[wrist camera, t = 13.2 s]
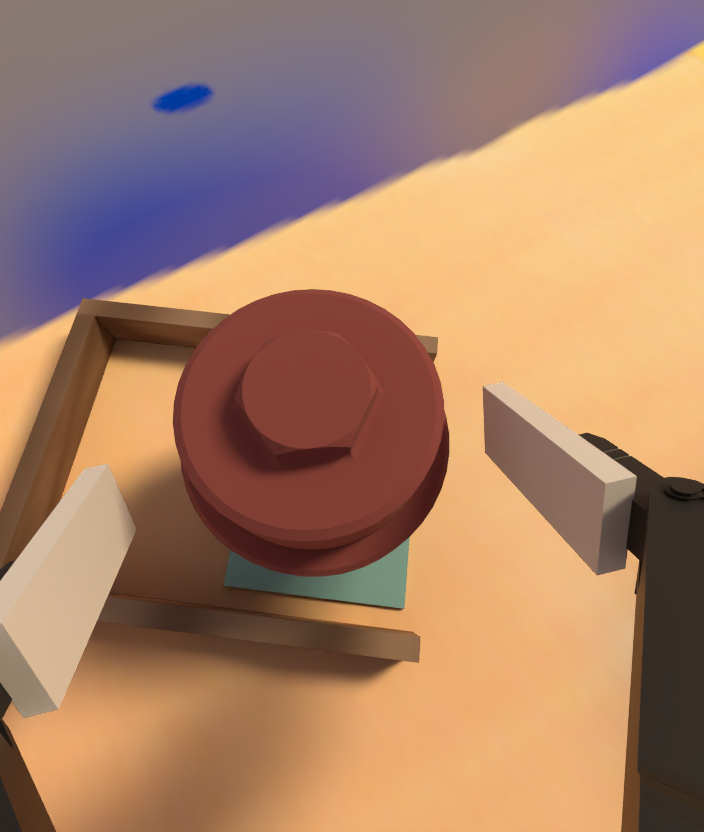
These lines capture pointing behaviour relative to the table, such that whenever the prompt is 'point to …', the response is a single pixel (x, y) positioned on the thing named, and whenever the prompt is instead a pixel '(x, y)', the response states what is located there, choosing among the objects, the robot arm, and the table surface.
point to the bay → (372, 584)
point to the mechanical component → (311, 432)
